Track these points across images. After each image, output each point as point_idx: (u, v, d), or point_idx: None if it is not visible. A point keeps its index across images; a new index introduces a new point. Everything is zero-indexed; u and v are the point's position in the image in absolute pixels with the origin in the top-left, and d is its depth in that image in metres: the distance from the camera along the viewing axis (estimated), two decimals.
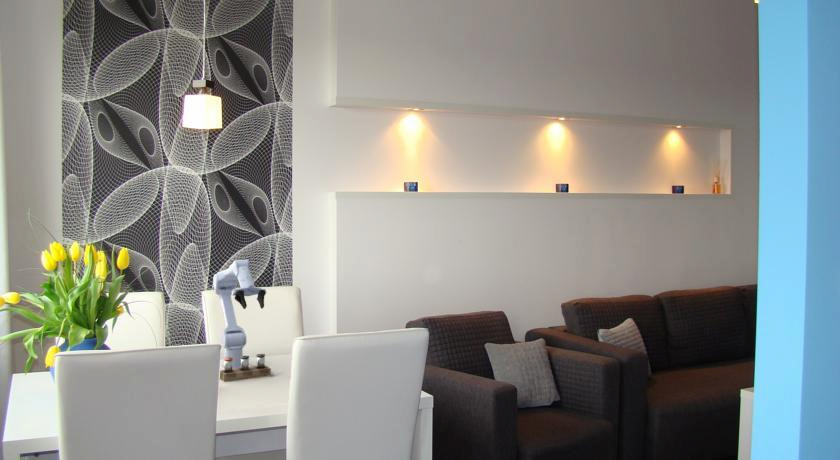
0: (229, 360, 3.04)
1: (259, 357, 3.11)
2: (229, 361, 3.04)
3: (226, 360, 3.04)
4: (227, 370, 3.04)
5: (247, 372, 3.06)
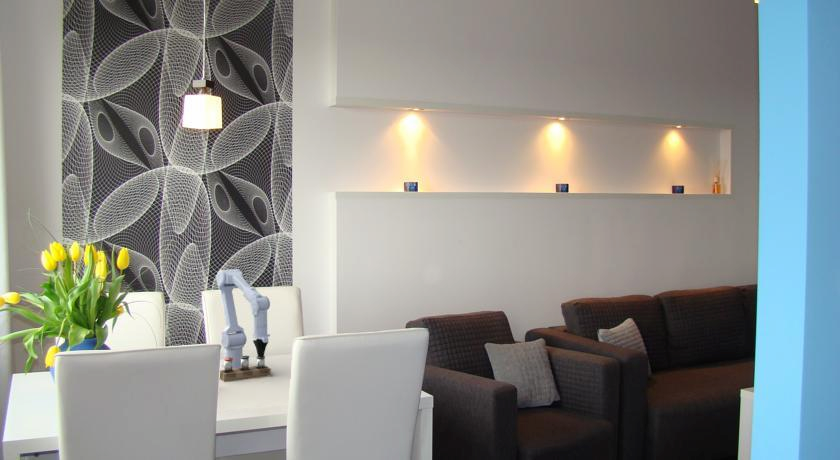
0: (229, 360, 3.04)
1: (259, 359, 3.11)
2: (229, 361, 3.04)
3: (226, 360, 3.04)
4: (227, 370, 3.04)
5: (247, 372, 3.06)
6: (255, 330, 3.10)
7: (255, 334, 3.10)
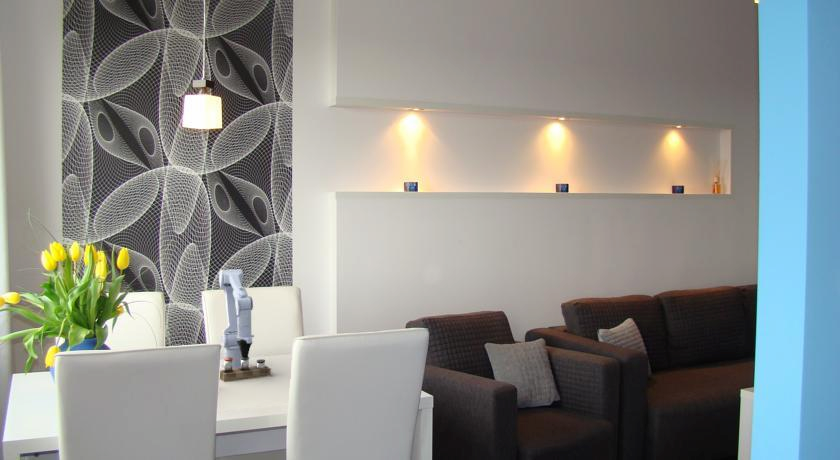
0: (229, 360, 3.04)
1: (259, 363, 3.11)
2: (229, 361, 3.04)
3: (226, 360, 3.04)
4: (227, 370, 3.04)
5: (247, 372, 3.06)
6: (239, 331, 3.06)
7: (239, 335, 3.07)
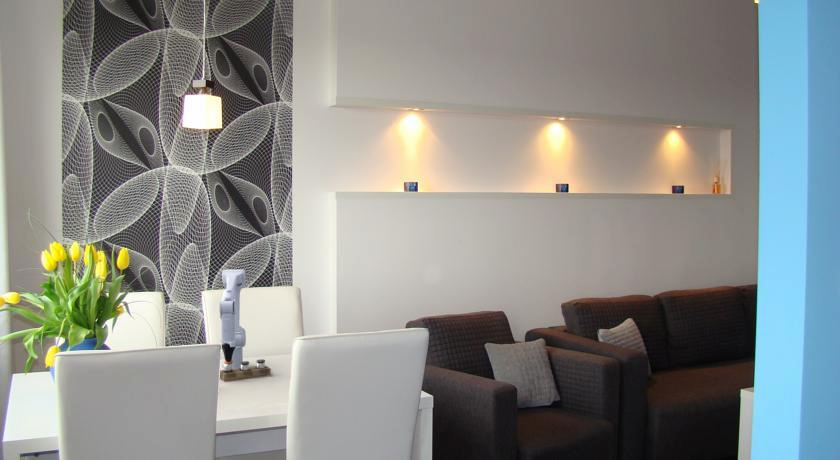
0: (229, 363, 3.04)
1: (259, 363, 3.11)
2: (229, 364, 3.04)
3: (226, 363, 3.04)
4: None
5: (247, 372, 3.06)
6: (222, 334, 3.03)
7: (222, 338, 3.03)
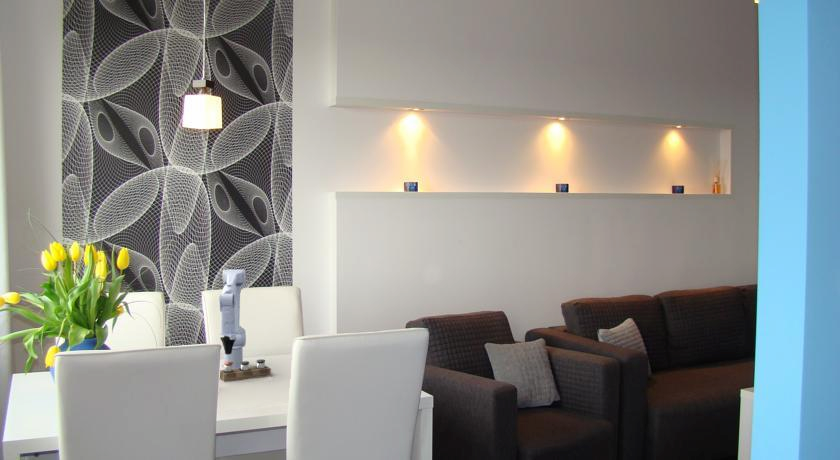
0: (229, 364, 3.04)
1: (259, 363, 3.11)
2: (229, 366, 3.04)
3: (226, 364, 3.04)
4: None
5: (247, 372, 3.06)
6: (222, 327, 3.03)
7: (222, 331, 3.03)
